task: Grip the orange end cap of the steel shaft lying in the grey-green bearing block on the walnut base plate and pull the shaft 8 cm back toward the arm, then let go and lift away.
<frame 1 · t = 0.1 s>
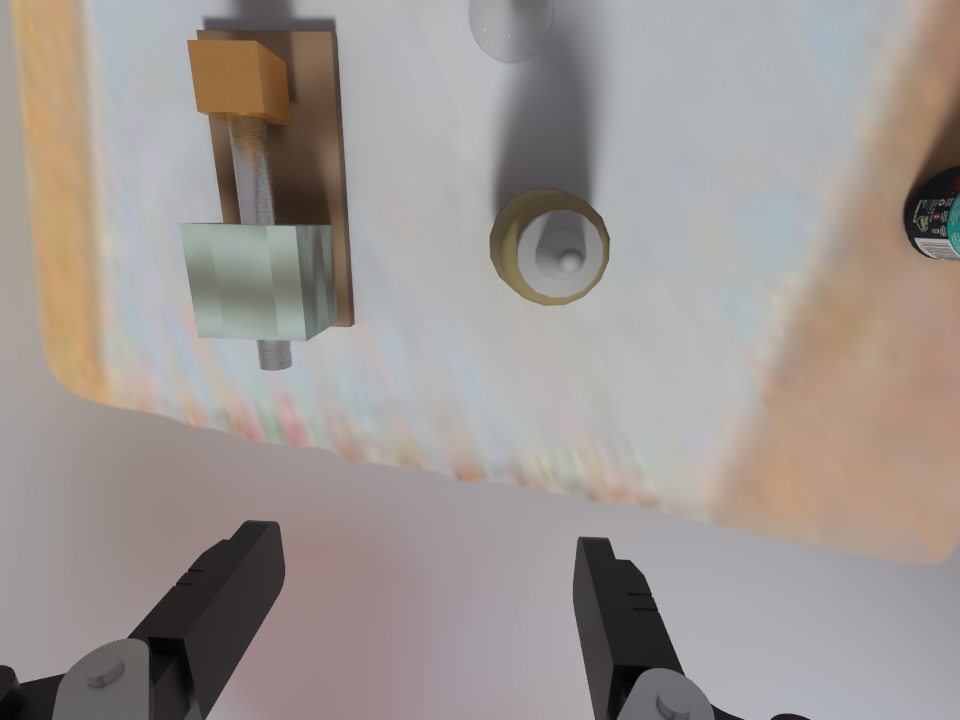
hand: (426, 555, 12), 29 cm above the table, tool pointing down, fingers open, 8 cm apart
squeeze bottle: (538, 242, 38), on the table
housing: (288, 211, 38), on the table
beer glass: (510, 16, 33), on the table
beverage can: (943, 213, 36), on the table
shaft: (259, 224, 33), point 5 cm above the table, slide at 0.0 cm
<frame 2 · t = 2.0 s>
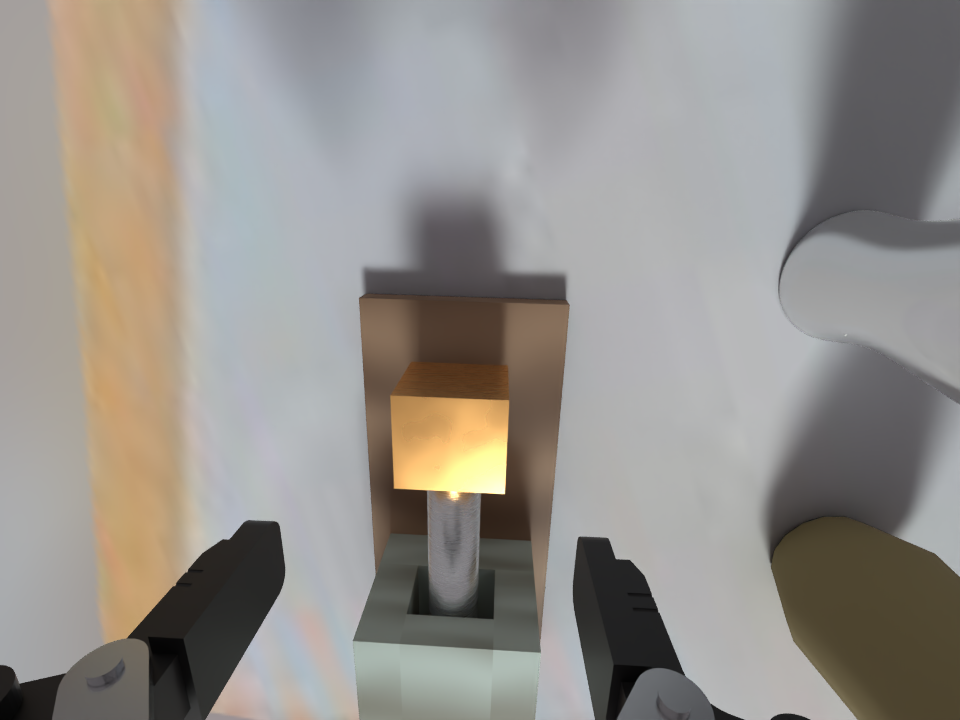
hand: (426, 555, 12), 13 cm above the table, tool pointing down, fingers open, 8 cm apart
squeeze bottle: (819, 553, 26), on the table
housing: (462, 508, 26), on the table
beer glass: (841, 277, 21), on the table
shaft: (453, 590, 22), point 5 cm above the table, slide at 0.0 cm
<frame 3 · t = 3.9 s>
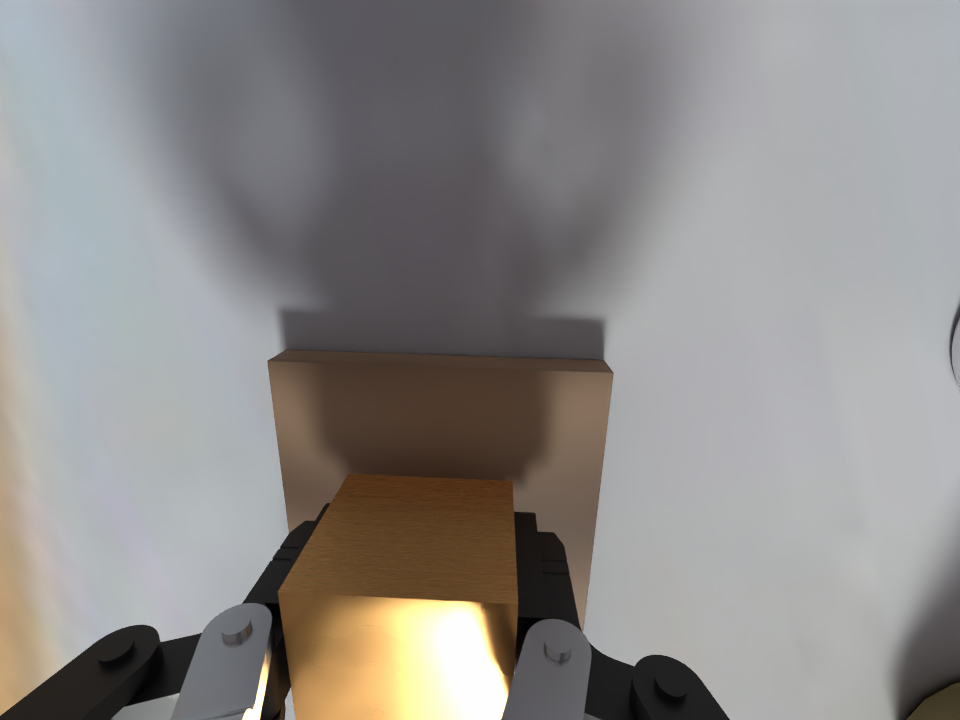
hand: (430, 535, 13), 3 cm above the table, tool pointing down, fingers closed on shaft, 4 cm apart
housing: (444, 656, 18), on the table
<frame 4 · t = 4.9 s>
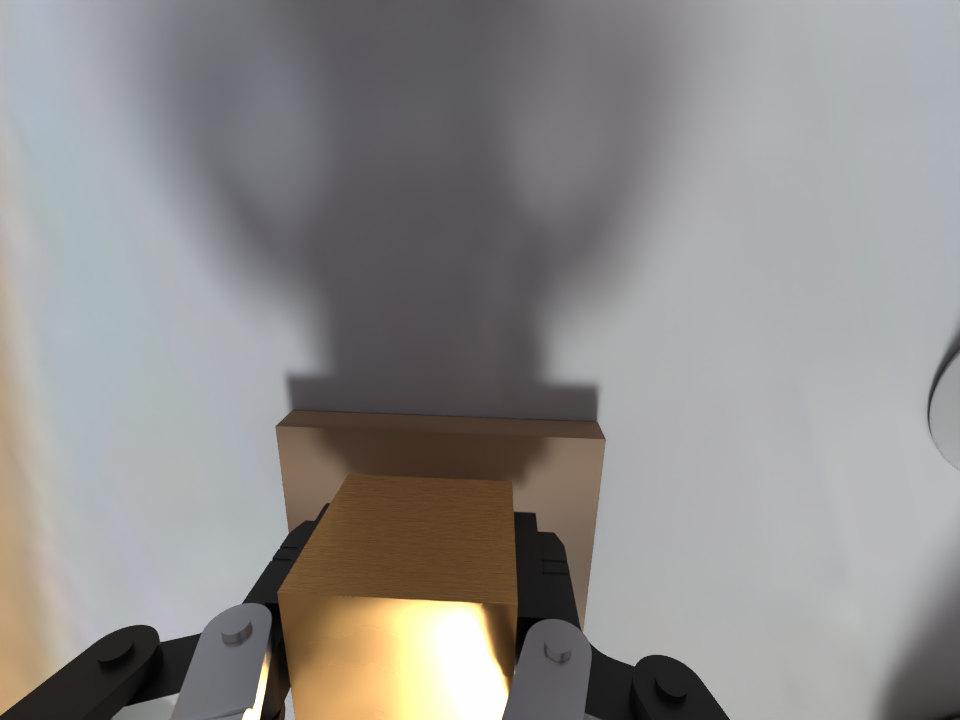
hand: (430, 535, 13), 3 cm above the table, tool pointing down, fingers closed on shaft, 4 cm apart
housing: (444, 694, 18), on the table
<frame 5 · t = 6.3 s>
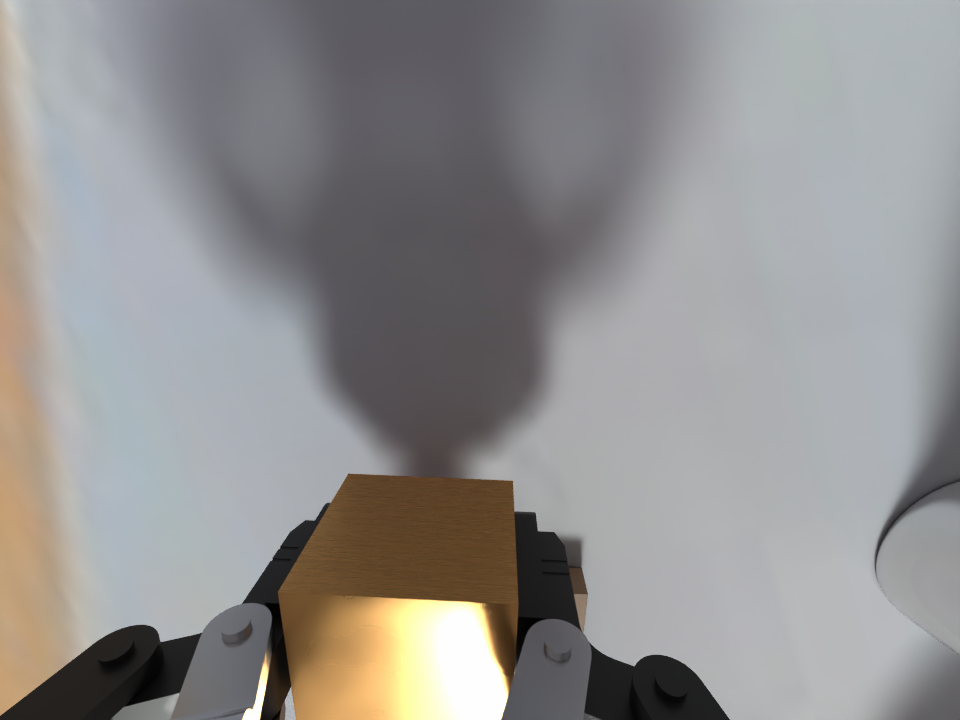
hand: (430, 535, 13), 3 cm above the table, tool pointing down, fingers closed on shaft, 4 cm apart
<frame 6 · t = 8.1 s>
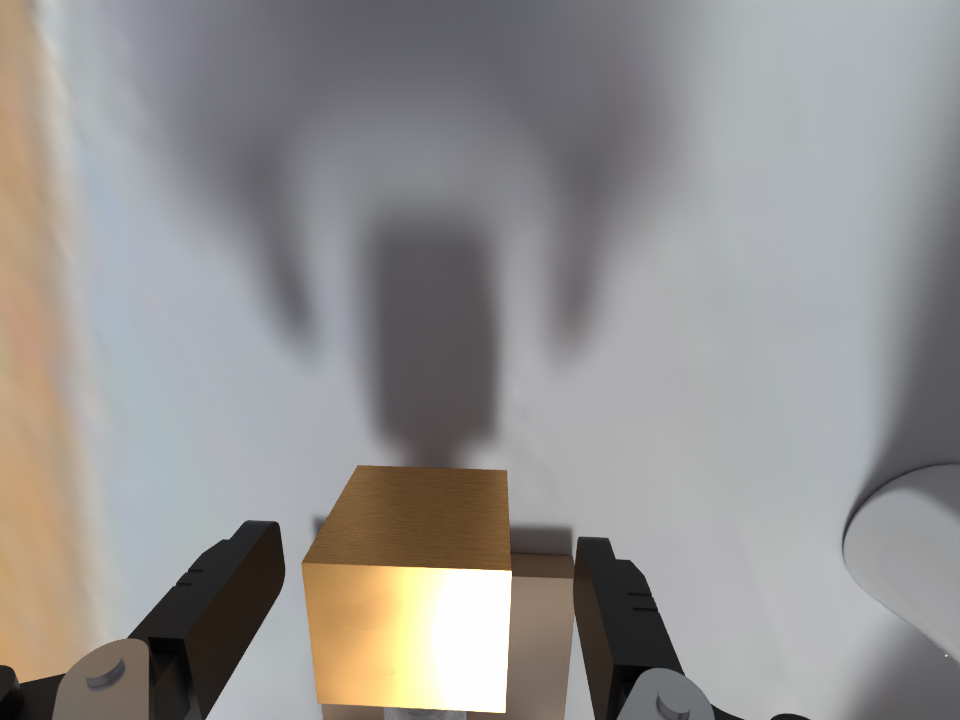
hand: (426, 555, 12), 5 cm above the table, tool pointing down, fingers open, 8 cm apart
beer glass: (922, 531, 17), on the table
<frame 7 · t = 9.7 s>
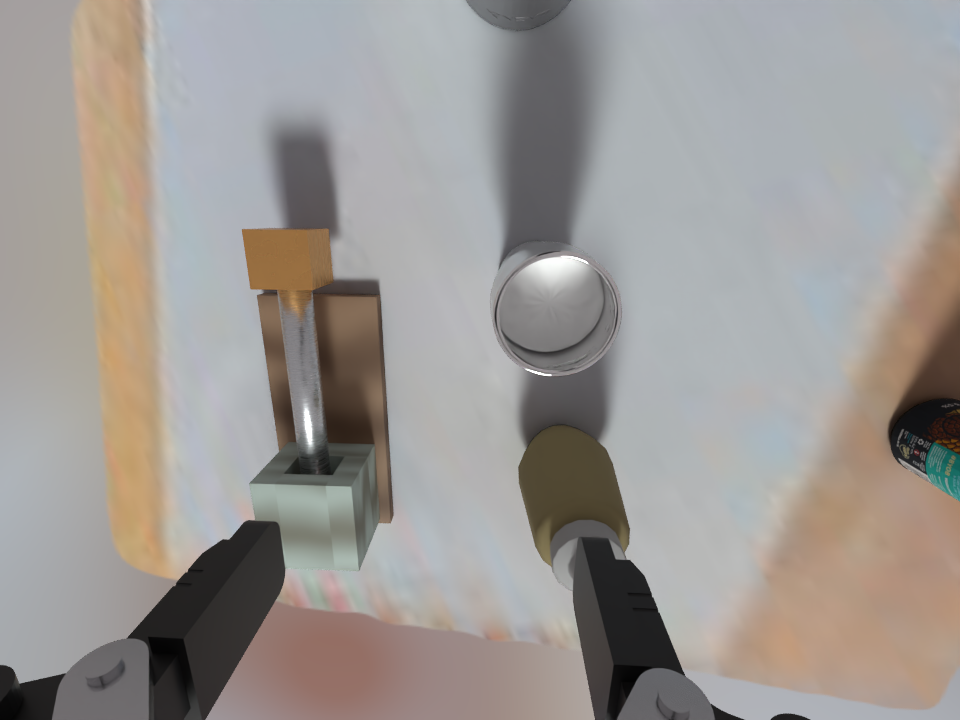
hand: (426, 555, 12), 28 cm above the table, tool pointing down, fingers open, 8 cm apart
squeeze bottle: (559, 451, 42), on the table
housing: (335, 427, 42), on the table
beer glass: (534, 278, 37), on the table
beverage can: (924, 430, 40), on the table
shaft: (304, 375, 35), point 5 cm above the table, slide at 7.9 cm
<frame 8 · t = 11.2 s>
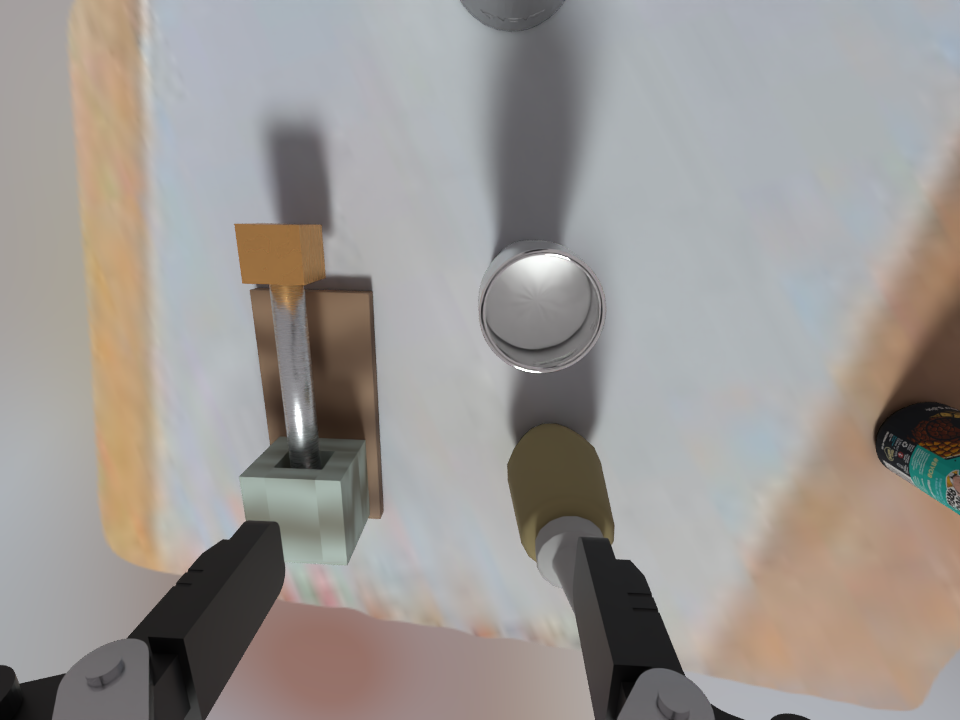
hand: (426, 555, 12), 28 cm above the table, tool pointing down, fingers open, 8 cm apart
squeeze bottle: (549, 449, 42), on the table
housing: (326, 422, 42), on the table
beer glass: (525, 277, 38), on the table
beverage can: (909, 433, 40), on the table
shaft: (295, 370, 35), point 5 cm above the table, slide at 7.9 cm
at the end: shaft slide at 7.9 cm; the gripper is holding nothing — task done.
